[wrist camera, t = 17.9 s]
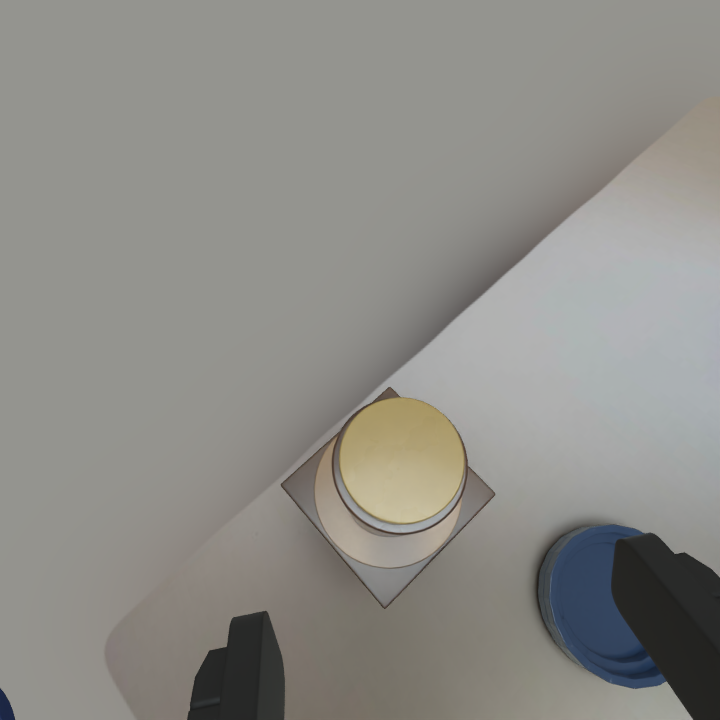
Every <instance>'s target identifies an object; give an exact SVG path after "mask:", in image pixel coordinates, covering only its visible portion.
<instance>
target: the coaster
mask: <svg viewBox="0 0 720 720" xmlns="http://www.w3.org/2000/svg"><path fill="white" fill-rule="evenodd" d="M337 437H338V436H337ZM337 437H336V438H335V439H334V440H333V441H332V442H331V444H330V445H329V446H328V448H327V449H326V451H325V452H324V454H323V456H322V458H321V460H320V462H319V465H318V468H317V471H316V476H315V483H314V499H315V506H316V511H317V514H318V517H319V520H320V522H321V524H322V526H323V528H324V530H325V532H326V533H327V535H328V536H329V538H330V539H331V540H332V542H333V543H334V544H335V545H336V546H337V547H338V548H339V549H340V550H341V551H342V552H344V553H345V554H346V555H348V556H349V557H351V558H352V559H354V560H356V561H358V562H360V563H362V564H365V565H369V566H372V567H377V568H386V569H394V568H403V567H407V566H410V565H414V564H416V563H418V562H421V561H423V560H424V559H426V558H428V557H429V556H431V555H432V554H433V553H435V552H436V551H437V550H438V549H439V548H440V547H441V546H442V545H443V544H444V543H445V542H446V540H447V539H448V538H449V536H450V535H451V533H452V531H453V529H454V527H455V525H456V523H457V520H458V517H459V514H460V509H461V504H462V497H461V499H460V501H459V503H458V504H457V506H456V507H455V509H454V510H453V511H452V512H451V513H450V515H449V516H448V517H447V518H446V519H444V520H443V521H442V522H440V523H439V524H438V525H436V526H434V527H432V528H431V529H428V530H426V531H423V532H420V533H416V534H411V535H405V536H398V537H381V536H377V535H374V534H372V533H369V532H367V531H366V530H364V529H363V528H362V527H360V526H359V525H358V524H357V523H356V522H355V521H354V519H353V518H352V516H351V515H350V513H349V512H348V510H347V509H346V507H345V505H344V504H343V502H342V500H341V499H340V497H339V495H338V493H337V490H336V487H335V484H334V480H333V476H332V454H333V448H334V445H335V442H336V439H337Z"/></svg>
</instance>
